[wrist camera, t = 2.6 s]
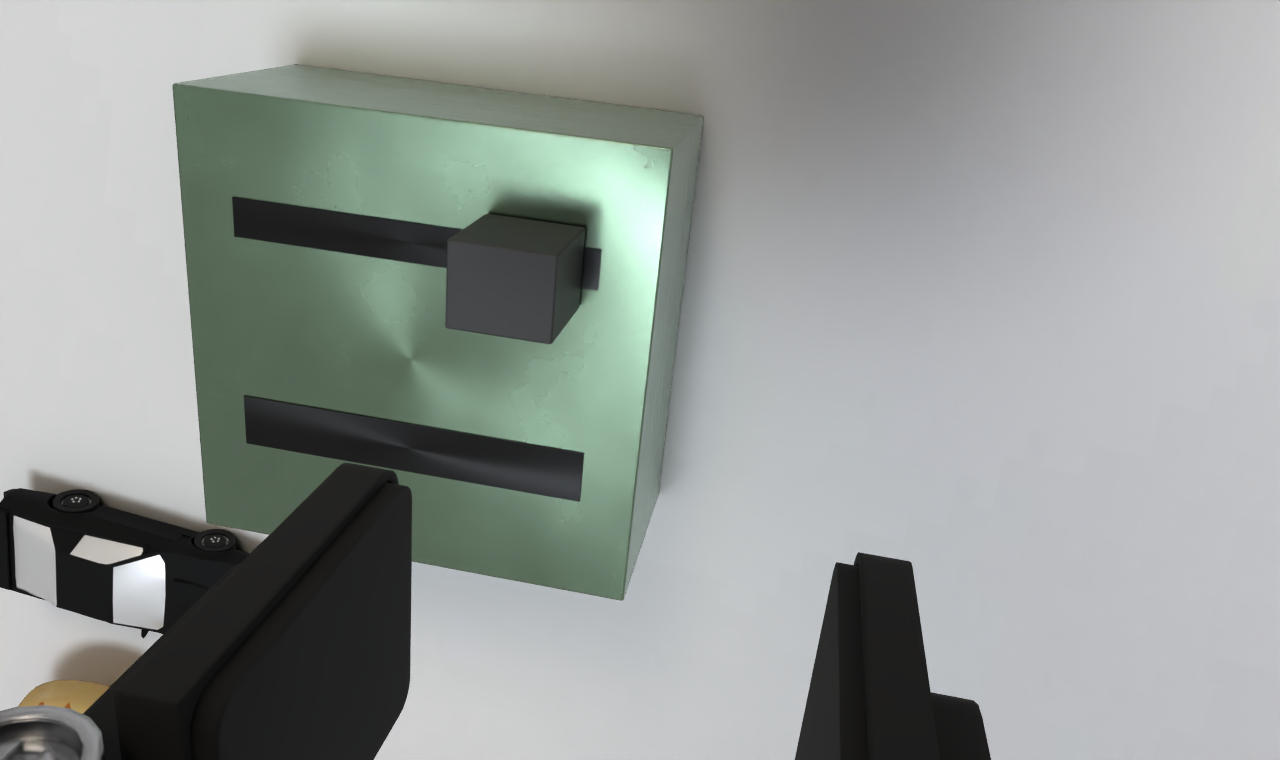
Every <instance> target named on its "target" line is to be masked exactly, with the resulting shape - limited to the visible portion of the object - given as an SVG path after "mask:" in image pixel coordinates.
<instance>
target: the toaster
mask: <svg viewBox="0 0 1280 760" xmlns="http://www.w3.org/2000/svg"><path fill="white" fill-rule="evenodd" d="M173 97H174V110H175V123H176V136H177V149H178V161H179V174H180V187H181V200H182V213H183V225H184V238H185V251H186V264H187V277H188V289H189V302H190V315H191V328H192V341H193V354H194V366H195V379H196V392H197V405H198V418H199V430H200V443H201V456H202V469H203V482H204V494H205V507H206V520H207V523H210V524H215V525H220V526H226V527H231V528H237V529H242V530H247V531H253V532H258V533H263V534H269V535H270V534H271V533H272V532H273V531H274V530H275V529H276V528H277V527H278V526H279V525H280V524H281V523H282V522H283V521H284V520H285V519H286V518H287V517H288V516H289V515H290V514H291V513H292V512H293V511H294V510H295V509H296V508H297V507H298V506H299V505H300V504H301V503H302V502H303V501H304V500H305V499H306V498H307V497H308V496H309V495H310V494H311V493H312V492H313V491H314V490H315V489H316V488H317V487H318V486H319V485H320V484H321V483H322V482H323V481H324V480H325V479H326V478H327V477H328V476H329V475H330V474H331V473H332V472H333V471H334V470H335V469H336V468H337V467H338V466H340V465H341V464H343V463H352V464H358V465H364V466H369V467H375V468H381V469H386V470H392V471H394V472H395V473H396V474H397V478H398V481H399V485H403V486H408V487H409V488H410V489H411V493H412V561H413V562H418V563H424V564H429V565H434V566H440V567H445V568H450V569H456V570H461V571H466V572H472V573H477V574H482V575H488V576H493V577H499V578H504V579H509V580H515V581H520V582H525V583H531V584H536V585H541V586H547V587H552V588H557V589H563V590H568V591H573V592H579V593H584V594H589V595H595V596H600V597H605V598H611V599H616V600H623V599H624V597H625V594H626V591H627V588H628V585H629V582H630V579H631V576H632V573H633V570H634V567H635V564H636V561H637V558H638V555H639V552H640V549H641V546H642V543H643V540H644V537H645V534H646V531H647V528H648V525H649V522H650V518H651V515H652V512H653V509H654V506H655V503H656V500H657V497H658V493H659V484H660V476H661V468H662V459H663V451H664V443H665V435H666V426H667V418H668V410H669V401H670V393H671V385H672V377H673V368H674V360H675V352H676V343H677V335H678V327H679V319H680V310H681V302H682V294H683V285H684V277H685V269H686V261H687V252H688V244H689V236H690V227H691V219H692V211H693V203H694V194H695V186H696V178H697V169H698V161H699V153H700V145H701V136H702V128H703V120H704V117H703V116H702V115H696V114H688V113H680V112H672V111H664V110H656V109H648V108H640V107H632V106H624V105H616V104H608V103H600V102H592V101H585V100H577V99H569V98H561V97H553V96H545V95H537V94H529V93H521V92H513V91H505V90H497V89H489V88H481V87H473V86H465V85H457V84H449V83H441V82H433V81H425V80H417V79H409V78H401V77H393V76H385V75H377V74H369V73H361V72H353V71H345V70H337V69H329V68H322V67H314V66H306V65H298V64H295V65H289V66H282V67H276V68H270V69H263V70H257V71H251V72H244V73H238V74H232V75H225V76H219V77H212V78H206V79H200V80H193V81H187V82H181V83H175V84H173ZM485 214H493V215H500V216H507V217H514V218H522V219H529V220H536V221H543V222H550V223H557V224H564V225H571V226H578V227H583V228H585V239H584V251H583V264H582V277H581V289H580V302H579V309H578V310H577V311H576V313H575V314H574V315H573V317H572V318H571V319H570V321H569V322H568V323H567V325H566V326H565V327H564V328H563V330H562V331H561V332H560V334H559V335H558V336H557V338H556V339H555V340H554V342H553V343H552V344H544V343H537V342H531V341H525V340H518V339H512V338H506V337H499V336H493V335H486V334H480V333H474V332H467V331H461V330H454V329H448V328H446V327H445V317H446V278H447V241H448V239H450V238H451V237H452V236H454V235H455V234H457V233H458V232H460V231H461V230H463V229H464V228H466V227H467V226H469V225H470V224H472V223H473V222H475V221H476V220H477V219H479V218H480V217H482V216H483V215H485Z"/></svg>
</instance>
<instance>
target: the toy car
mask: <svg viewBox="0 0 1280 760" xmlns="http://www.w3.org/2000/svg"><path fill="white" fill-rule="evenodd" d="M235 547H236V537H235V536H234V534H232V533H231V532H229V531H226V530H222V529H211V530H206V531H203V532H201V533H200V532H196V531H192V530H189V529H185V528H182V527H178V526H175V525H171V524H168V523H164V522H161V521H157V520H154V519H150V518H146V517H143V516H139V515H136V514H132V513H129V512H125V511H122V510H118V509H114V508H111V507H107V506H104V505H102V506H101V507H99V497H98V495H97V494H95V493H94V492H91V491H88V490H70V491H66V492H63V493H60V494H58V495H56V494H50V493H45V492H39V491H33V490H28V489H22V488H20V489H11V490H8V491H5V492H4V499H3V500H2V501H1V502H0V587H1V588H4V589H7V590H13V591H16V592H19V593H23V594H26V595H29V596H33V597H36V598H40V599H43V600H47V601H49V602H50V603H52V604H54V605H56V606H57V607H59V608H62V609H66V610H69V611H73V612H76V613H79V614H82V615H85V616H89V617H92V618H95V619H98V620H102V621H105V622H108V623H111V624H116V625H122V626H127V627H133V628H138V629H142V631H141V636H142V638H144V637H145V636H146V634H147V633H148V631H153V632H158V633H161V634H164V633H165V632H166V631H167V630H168V629H169V628H170V627H171V626H173V625H174V624H175V623H176V622H177V621H178V620H179V619H180V618H181V617H182V616H183V615H184V614H185V613H186V612H187V611H188V610H189V609H190V608H191V607H192V606H193V605H194V604H195V603H196V602H197V601H198V600H199V599H200V598H201V597H202V596H203V595H204V594H205V593H206V592H207V591H208V590H209V589H210V588H211V587H212V586H213V585H214V584H215V583H216V582H217V581H218V580H219V579H220V578H221V577H222V576H223V575H224V574H225V573H226V572H227V571H229V570H230V569H231V568H233V567H234V566H236V565H237V564H238V563H242V562H243V561H244V560H245V559H246V558H247V557H248V556H249V555H250V554H249V553H245V552H242V551H239V550H235Z"/></svg>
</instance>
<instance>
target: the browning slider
mask: <svg viewBox="0 0 1280 760" xmlns="http://www.w3.org/2000/svg"><path fill="white" fill-rule="evenodd" d="M584 239H585V228H583V227H578V226H571V225H564V224H557V223H550V222H543V221H536V220H529V219H522V218H514V217H507V216H500V215H493V214H485V215H483V216H482V217H480V218H479V219H477V220H476V221H475V222H473V223H472V224H470V225H469V226H467V227H466V228H464V229H463V230H461V231H460V232H458V233H457V234H455V235H454V236H452V237H451V238H450V239H448V241H447V278H446V317H445V327H446V328H448V329H454V330H461V331H467V332H474V333H480V334H486V335H493V336H499V337H506V338H512V339H518V340H525V341H531V342H537V343H544V344H552V343H553V342H554V340H555V339H556V338H557V336H558V335H559V334H560V332H561V331H562V330H563V328H564V327H565V326H566V325H567V323H568V322H569V321H570V319H571V318H572V317H573V315H574V314H575V313H576V311H577V310H578V309H579V302H580V289H581V277H582V264H583V251H584Z"/></svg>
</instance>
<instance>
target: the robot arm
mask: <svg viewBox="0 0 1280 760" xmlns="http://www.w3.org/2000/svg"><path fill="white" fill-rule="evenodd" d="M411 561H412V493H411V489H410V488H409V487H408V486H403V485H399V481H398V478H397V474H396V473H395V472H394V471H392V470H386V469H381V468H375V467H369V466H364V465H358V464H352V463H343V464H341V465H340V466H338V467H337V468H336V469H335V470H334V471H333V472H332V473H331V474H330V475H329V476H328V477H327V478H326V479H325V480H324V481H323V482H322V483H321V484H320V485H319V486H318V487H317V488H316V489H315V490H314V491H313V492H312V493H311V494H310V495H309V496H308V497H307V498H306V499H305V500H304V501H303V502H302V503H301V504H300V505H299V506H298V507H297V508H296V509H295V510H294V511H293V512H292V513H291V514H290V515H289V516H288V517H287V518H286V519H285V520H284V521H283V522H282V523H281V524H280V525H279V526H278V527H277V528H276V529H275V530H274V531H273V532H272V533H271V534H270V535H269V536H268V537H267V538H266V539H265V540H264V541H263V542H262V543H261V544H260V545H259V546H258V547H257V548H256V549H255V550H254V551H253V552H252V553H251V554H250V555H249V556H248V557H247V558H246V559H245V560H244V561H243V562H242V563H238V564H237V565H236V566H234V567H233V568H231V569H230V570H229V571H227V572H226V573H225V574H224V575H223V576H222V577H221V578H220V579H219V580H218V581H217V582H216V583H215V584H214V585H213V586H212V587H211V588H210V589H209V590H208V591H207V592H206V593H205V594H204V595H203V596H202V597H201V598H200V599H199V600H198V601H197V602H196V603H195V604H194V605H193V606H192V607H191V608H190V609H189V610H188V611H187V612H186V613H185V614H184V615H183V616H182V617H181V618H180V619H179V620H178V621H177V622H176V623H175V624H174V625H173V626H171V627H170V628H169V629H168V630H167V631H166V632H165V633H164V634H163V635H162V636H161V637H160V638H159V639H158V640H157V641H156V642H155V643H154V644H153V645H152V646H151V647H150V648H149V649H148V650H147V651H146V652H145V653H144V654H143V655H142V656H141V657H140V658H139V659H138V660H137V661H136V662H135V663H134V664H133V665H132V666H131V667H130V668H129V669H128V670H127V671H126V672H125V673H124V674H123V675H122V676H121V677H120V678H119V679H118V680H117V681H116V682H115V683H114V684H113V685H111V686H110V687H109V688H108V689H107V690H106V691H105V692H104V693H103V694H102V695H101V696H100V697H99V698H98V699H97V700H96V701H95V702H94V703H93V704H92V705H91V706H90V707H89V708H88V709H87V710H86V711H85V712H84V713H83V714H81V713H79V712H77V711H75V710H73V709H70V708H63V707H56V706H49V705H39V706H25V707H15V708H11V709H7V710H3V711H0V760H374V758H375V756H376V754H377V753H378V751H379V749H380V748H381V746H382V744H383V743H384V741H385V739H386V737H387V736H388V734H389V732H390V731H391V729H392V727H393V725H394V724H395V722H396V720H397V719H398V717H399V715H400V713H401V711H402V709H403V707H404V704H405V701H406V698H407V694H408V690H409V684H410V640H411ZM795 760H991V757H990V753H989V748H988V743H987V738H986V734H985V729H984V724H983V719H982V715H981V712H980V709H979V706H978V704H977V703H976V702H975V701H973V700H968V699H963V698H957V697H952V696H947V695H942V694H936V693H931V692H930V686H929V679H928V672H927V665H926V658H925V651H924V644H923V637H922V630H921V623H920V616H919V609H918V602H917V595H916V588H915V581H914V574H913V567H912V564H911V562H909V561H904V560H898V559H893V558H887V557H881V556H876V555H870V554H864V553H859V552H858V554H857V556H856V559H855V562H854V565H849V564H843V563H837V562H836V564H835V567H834V571H833V575H832V580H831V585H830V590H829V595H828V600H827V605H826V610H825V615H824V620H823V624H822V629H821V634H820V639H819V644H818V649H817V654H816V659H815V664H814V669H813V673H812V678H811V683H810V688H809V693H808V698H807V703H806V708H805V713H804V718H803V722H802V727H801V732H800V737H799V742H798V747H797V752H796V757H795Z"/></svg>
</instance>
